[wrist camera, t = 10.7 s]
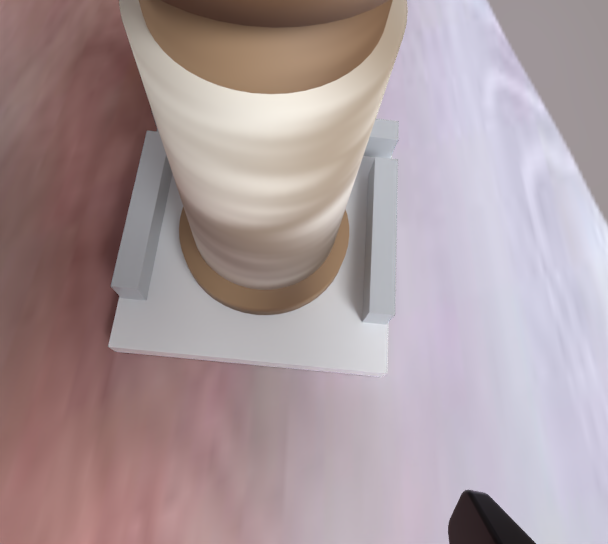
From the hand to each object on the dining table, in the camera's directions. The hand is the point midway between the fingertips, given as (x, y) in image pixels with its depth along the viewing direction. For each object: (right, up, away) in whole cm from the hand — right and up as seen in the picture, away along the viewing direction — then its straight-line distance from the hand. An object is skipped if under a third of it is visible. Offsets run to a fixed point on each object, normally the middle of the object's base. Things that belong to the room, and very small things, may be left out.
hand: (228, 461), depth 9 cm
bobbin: (0, +5, +12) cm, 13 cm away
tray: (-1, +4, +13) cm, 13 cm away
